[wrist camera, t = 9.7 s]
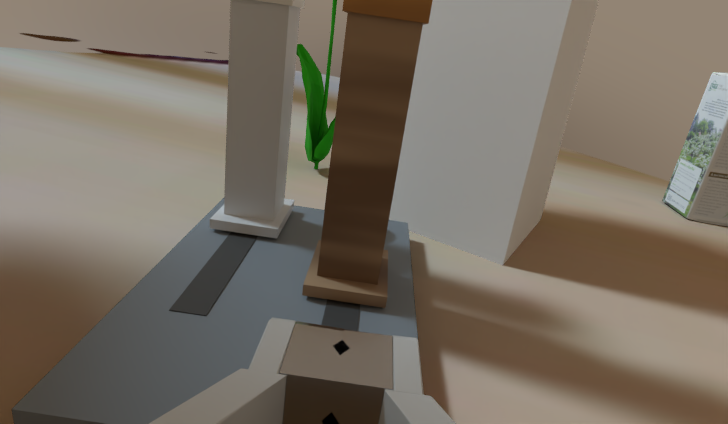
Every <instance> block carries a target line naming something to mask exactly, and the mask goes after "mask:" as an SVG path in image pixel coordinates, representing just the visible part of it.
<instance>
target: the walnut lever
mask: <svg viewBox="0 0 728 424" xmlns="http://www.w3.org/2000/svg"><path fill="white" fill-rule="evenodd" d="M432 1H433V0H344V2H343V11H345V12H347V13H348V16H347V25H346V33H345V42H344V51H343V59H342V67H341V75H340V84H339V92H338V101H337V109H336V118H335V126H334V135H333V143H332V152H331V160H330V169H329V177H328V186H327V194H326V203H325V211H324V220H323V228H322V237H321V240H319V241H318V243H317V246H316V249H315V252H314V255H313V258H312V261H311V264H310V266H309V269H308V272H307V275H306V278H305V281H304V284H303V292H302V295H303V296H309V297H316V298H323V299H329V300H336V301H342V302H349V303H356V304H362V305H369V306H375V307H382V308H385V307H386V302H387V290H388V250H384V244H385V239H386V233H387V227H388V222H389V216H390V210H391V204H392V199H393V193H394V187H395V181H396V176H397V170H398V164H399V158H400V153H401V147H402V141H403V135H404V130H405V124H406V118H407V112H408V107H409V101H410V95H411V89H412V84H413V78H414V72H415V67H416V61H417V55H418V49H419V44H420V38H421V32H422V26H423V25H424V24H428V23H429V18H430V12H431V7H432Z"/></svg>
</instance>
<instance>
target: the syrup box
mask: <svg viewBox="0 0 728 424" xmlns="http://www.w3.org/2000/svg"><path fill="white" fill-rule="evenodd" d="M662 201H663V202H664V203H666V204H667V205H669V206H670V207H671V208H673V209H674V210H675V211H677V212H678V213H680V214H681V215H683V216H684V217H685V218H687V219H691V220H695V221H699V222H704V223H710V224H715V225H721V226H728V73H717V72H713V73H712V75H711V77H710V80H709V82H708V85H707V87H706V90H705V92H704V95H703V98H702V100H701V103H700V105H699V108H698V110H697V113H696V115H695V118H694V121H693V123H692V126H691V128H690V131H689V133H688V136H687V139H686V141H685V144H684V146H683V149H682V151H681V154H680V157H679V159H678V161H677V164H676V167H675V169H674V172H673V174H672V177H671V179H670V183H669V185H668V187H667V190H666V192H665V195H664V197H663V200H662Z"/></svg>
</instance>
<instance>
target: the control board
mask: <svg viewBox="0 0 728 424" xmlns="http://www.w3.org/2000/svg"><path fill="white" fill-rule="evenodd" d="M224 198H225V197H224ZM224 198H223V199H222V200H221V201H220V202H219V203H218V204H217V205H216V206H215V207H214V208H213V209H212V210H211V211H210V212H209V213H208V214H207V215H206V216H205V217H204V218H203V219H202V220H201V221H200V222H199V223H198V224H197V225H196V226H195V227H194V228H193V229H192V230H191V231H190V232H189V233H188V234H187V235H186V236H185V237H184V238H183V239H182V240H181V241H180V242H179V243H178V244H177V245H176V246H175V247H174V248H173V249H172V250H171V251H170V252H169V253H168V254H167V255H166V256H165V257H164V258H163V259H162V260H161V261H160V262H159V263H158V264H157V265H156V266H155V267H154V268H153V269H152V270H151V271H150V272H149V273H148V274H147V275H146V276H145V277H144V278H143V279H142V280H141V281H140V282H139V283H138V284H137V285H136V286H135V287H134V288H133V289H132V290H131V291H130V292H129V293H128V294H127V295H126V296H125V297H124V298H123V299H122V300H121V301H120V302H119V303H118V304H117V305H116V306H115V307H114V308H113V309H112V310H111V311H110V312H109V313H108V314H107V315H106V316H105V317H104V318H103V319H102V320H101V321H100V322H99V323H98V324H97V325H96V326H95V327H94V328H93V329H92V330H91V331H90V332H89V333H88V334H87V335H86V336H85V337H84V338H83V339H82V340H81V341H80V342H79V343H78V344H77V345H76V346H75V347H74V348H73V349H72V350H71V351H70V352H69V353H68V354H67V355H66V356H65V357H64V358H63V359H62V360H61V361H60V362H59V363H58V364H57V365H56V366H55V367H54V368H53V369H52V370H51V371H50V372H49V373H48V374H47V375H46V376H45V377H44V378H42V379H41V380H40V381H39V382H38V383H37V384H36V385H35V386H34V387H33V388H32V389H31V390H30V391H29V392H28V393H27V394H26V395H25V396H24V397H23V398H22V399H21V400H20V401H19V402H18V403H17V404H16V405H15V406H14V407H13V408H12V414H13V420H14V424H149V423H151V422H152V421H154V420H156V419H157V418H159V417H161V416H162V415H164V414H166V413H167V412H169V411H171V410H172V409H174V408H176V407H177V406H179V405H181V404H182V403H184V402H186V401H187V400H189V399H191V398H192V397H194V396H196V395H197V394H199V393H201V392H202V391H204V390H206V389H207V388H209V387H211V386H212V385H214V384H216V383H217V382H219V381H221V380H222V379H224V378H226V377H227V376H229V375H231V374H232V373H234V372H236V371H237V370H239V369H249V366H250V364H251V362H252V359H253V357H254V354H255V352H256V350H257V347H258V345H259V343H260V340H261V338H262V336H263V333H264V331H265V328H266V326H267V324H268V321H269V320H270V319H271V318H272V317H273V318H280V319H287V320H294V321H296V322H297V321H300V322H306V323H312V324H318V325H324V326H330V327H336V328H342V329H345V330H352V331H360V332H367V333H375V334H382V335H390V336H392V335H395V336H404V337H413V338H417V340H418V335H417V323H416V312H415V300H414V289H413V277H412V265H411V254H410V242H409V231H408V223H406V222H400V221H393V220H389V222H388V227H387V233H386V239H385V244H384V250H388V290H387V302H386V307H385V308H382V307H375V306H369V305H362V304H356V303H349V302H342V301H336V300H329V299H323V298H316V297H309V296H303V295H302V292H303V284H304V281H305V278H306V275H307V272H308V269H309V266H310V264H311V261H312V258H313V255H314V252H315V249H316V246H317V243H318V241H319V240H321V237H322V228H323V220H324V211H325V210H320V209H314V208H307V207H301V206H294V209H293V210H292V212H291V214H290V216H289V218H288V219H287V221H286V223H285V225H284V227H283V228H282V230H281V232H280V234H279V236H278V238H270V237H264V236H257V235H250V234H244V233H237V232H231V231H224V230H217V229H211V228H210V218H211V217H212V216H213V215H214V214H215V213H216V212H217V211H218V210H219V209H220V208H221V207H222V206H223V205H224Z"/></svg>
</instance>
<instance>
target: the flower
mask: <svg viewBox="0 0 728 424" xmlns="http://www.w3.org/2000/svg"><path fill="white" fill-rule="evenodd" d="M336 5H337V0H333V8H332V23H331V36H330V45H329V54H328V64H327V74H326V82H325V92H324V87H323V81H322V76H321V73H320V71H319V70H318V68H317V66H316V64H315V63H314V61H313V59H312V58H311V56H310V54H309V53H308V52H307V50H306V49H305V48H304V47H303V45H302V44H297V52H296V54H297V55H298V56H299V58H300V62H301V66H302V78H303V83H304V87H305V92H306V98H307V109H308V115H307V128H306V140H305V149H306V154H307V158H308V160H309V161H311V162H314V163H315V167H314V169H318V163H319V162H320V161H321V160H323V159H324V158H325V157H326V156H327V155H328V153H329V151H330V148H331V145H332V143H333V135H334V126H335V118H336V117H335V118H334V120H333V121H332V122H331V124H330V126H329V128H328V125H327V119H326V107H327V98H328V87H329V77H330V66H331V55H332V44H333V35H334V24H335V15H336Z"/></svg>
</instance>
